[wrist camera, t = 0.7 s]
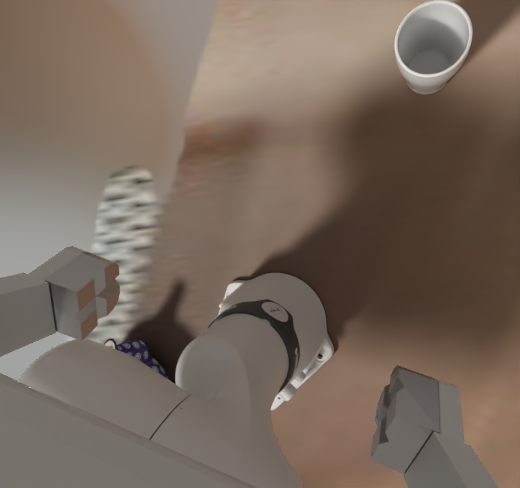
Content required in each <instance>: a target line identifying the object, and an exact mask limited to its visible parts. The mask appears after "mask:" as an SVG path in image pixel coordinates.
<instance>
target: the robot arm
mask: <svg viewBox="0 0 520 488" xmlns="http://www.w3.org/2000/svg"><path fill="white" fill-rule="evenodd" d="M118 275H119V265H117V264H116V263H115V262H112V261H109V260H107V259H104V258H102V257H99V256H97V255H94V254H92V253H89V252H85V251H83V250H81V249H78V248H76V247H73V246H71V247H67V248H65V249H64V250H62V251H61V252H60V253H58V254H56V255H55V256H54V257H52V258H51V259H49V260H48V261H46V262H45V263H44V264H42V265H41V266H39V267H38V268H37V269H35V270H34V271H32V272H31V273H29V274H25V273H21V274H17V275H12V276H7V277H3V278H0V357H1V356H3V355H5V354H7V353H10V352H12V351H14V350H17V349H19V348H21V347H23V346H26V345H28V344H30V343H33V342H35V341H38V340H40V339H42V338H45V337H47V336H49V335H52V334H54V333H56V331H57V332H60V333H62V334H65V335H68V336H70V337H73V338H76V340H72V341H69V342H66V343H63V344H61V345H58V346H56V347H54V348H52V349H51V350H49V351H47V352H46V353H44V354H43V355H42V356H40V357H39V358H38V359H36V360H35V361H34V362H33V363H32V364H31V365H30V366H29V367H28V368H27V369H26V371H25V372H24V373H23V374H22V375H21V377H20V378H19V380H18V381H17V380H14V379H12V378H10V377H8V376H5V375H3V374H1V373H0V488H304V486H303V482H302V480H301V478H300V477H299V476H298V474H297V473H296V472H295V470H294V469H293V467H292V466H291V464H290V463H289V461H288V459H287V458H286V456H285V454H284V452H283V450H282V448H281V446H280V444H279V442H278V439H277V437H276V434H275V431H274V428H273V424H272V420H271V414H270V410H274V409H276V408H277V407H278V406H279V405H280V404H282V403H283V402H284V401H288V400H289V399H290V398H291V397H292V396H293V395H294V394H295V392H296V391H297V389H298V388H299V387H300V386H301V385H302V384H303V383H304V382H305V381H306V380H307V379H308V378H309V377H310V376H312V375H313V374H314V373H315V372H316V371H317V370H318V369H319V368H320V367H321V366H322V365H323V364H324V363H325V362H326V361H328V360H329V359H330V358H331V356H332V355H333V354H334V347H333V344H332V342H331V340H330V338H329V336H328V333H327V325H326V315H325V311H324V308H323V305H322V303H321V301H320V299H319V298H318V296H317V295H316V293H315V292H314V291H313V290H312V289H311V288H310V287H309V286H308V285H307V284H306V283H304V282H303V281H301V280H300V279H298V278H296V277H294V276H291V275H288V274H283V273H268V274H264V275H261V276H258V277H256V278H254V279H252V280H248V281H245V280H238V281H233V282H231V283H230V284H229V285H228V287H227V290H226V293H225V296H224V300H223V301H222V302H221V303H220V305H219V307H220V310H219V314H218V316H217V317H216V318H215V319H214V320H213V322H212V323H211V324H210V325H209V327H208V329H207V330H206V331H204V332H203V333H202V334H200V335H199V336H198V337H197V338H195V339H194V340H193V341H192V342H190V343H189V344H188V345H187V346H186V348H185V349H184V350H183V352H182V354H181V355H180V358H179V360H178V363H177V366H176V373H175V384H174V383H173V382H171V381H170V380H168V379H167V378H165V377H164V376H162V375H161V374H159V373H158V372H156V371H155V370H153V369H152V368H150V367H149V366H147V365H146V364H144V363H143V362H141V361H140V360H138V359H136V358H135V357H133V356H131V355H129V354H126V353H124V352H121V351H119V350H116V349H114V348H111V347H109V346H106V345H103V344H100V343H98V342H95V341H92V340H89V339H84V338H85V337H86V336H87V335H88V334H89V333H90V332H91V331H92V330H93V329H94V328H95V327H96V326H97V319H98V318H102V317H105V316H107V315H108V314H109V313H110V312H111V311H112V310H113V309H114V307H115V305H116V303H117V301H118V298H119V294H120V286H119V284H118V283H117V281H116V280H115V278H116V277H117V276H118ZM318 354H321V355H322V356H323V357H319V356H318ZM375 422H376V424H377V426H378V428H377V430H376V432H375V433H374V435H373V442H372V451H371V460H373V461H375V462H378V463H380V464H382V465H384V466H387V467H389V468H391V469H393V470H396V471H398V472H400V473H403V474H405V475H404V478H405V480H406V483H407V485H408V487H409V488H499V487H498V486H497V484H496V483H495V482H494V480H493V479H492V477H491V476H490V474H489V473H488V471H487V470H486V468H485V467H484V465H483V464H482V462H481V461H480V459H479V458H478V456H477V455H476V453H475V452H474V450H473V449H472V447H471V446H469V445H467V444H464V435H463V423H462V412H461V401H460V390H459V388H458V387H457V386H455V385H452V384H449V383H446V382H443V381H441V380H438V379H437V380H436V379H434V378H432V377H429V376H426V375H423V374H420V373H418V372H415V371H412V370H409V369H406V368H403V367H401V366H398V365H397V366H396V367H395V368H394V370H393V372H392V374H391V379H390V384H389V385H386V386H385V387H384V390H383V392H382V394H381V396H380V399H379V402H378V406H377V411H376V417H375Z"/></svg>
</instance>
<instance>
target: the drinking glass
mask: <svg viewBox="0 0 520 488" xmlns="http://www.w3.org/2000/svg"><path fill="white" fill-rule="evenodd" d="M472 37H473V28H472V23H471V20H470V17H469V16H468V14H467V12H466V11H465V10H464V9H463V8H462V7H461V6H460V5H458V4H456V3H454V2H452V1H448V0H431V1H427V2H425V3H422V4H420V5H419V6H417V7H415V8H414V9H413V10H411V11H410V12H409V13H408V14H407V15H406V16H405V17H404V19H403V20H402V22H401V23H400V25H399V27H398V30H397V32H396V36H395V42H394V52H395V59H396V63H397V66H398V69H399V71H400V73H401V74H402V76H403V77H404V78H405V80H406V82H407V84H408V86H409V87H410V88H411V89H412V90H413V91H414V92H416V93H419V94H432V93H435V92H437V91H439V90H440V89H442V88H443V87H444V86H445V85H446V84H447V82H448V81H449V79H451V78H452V77H453V76H454V75H455V74H456V72H457V71H458V70H459V69H460V68H461V66H462V65H463V63H464V61H465V59H466V57H467V55H468V52H469V49H470V46H471V42H472Z"/></svg>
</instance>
